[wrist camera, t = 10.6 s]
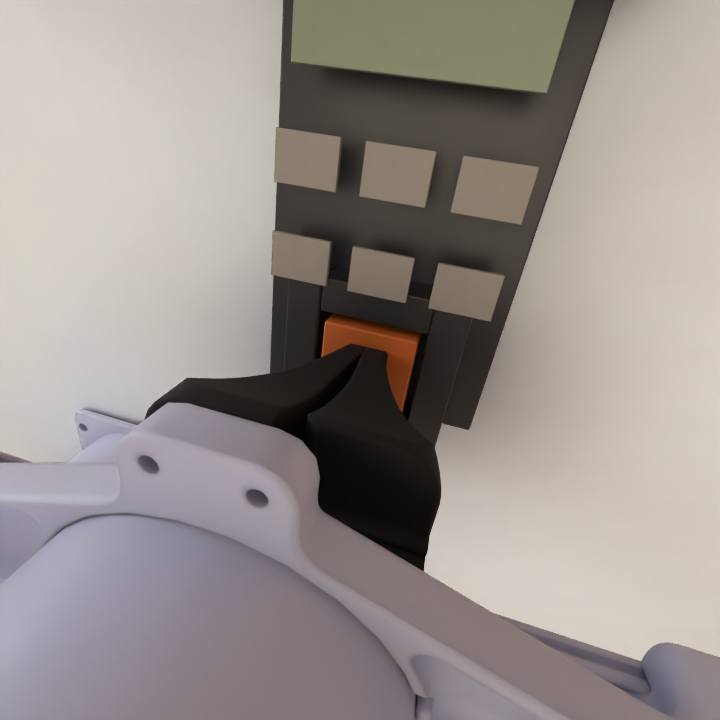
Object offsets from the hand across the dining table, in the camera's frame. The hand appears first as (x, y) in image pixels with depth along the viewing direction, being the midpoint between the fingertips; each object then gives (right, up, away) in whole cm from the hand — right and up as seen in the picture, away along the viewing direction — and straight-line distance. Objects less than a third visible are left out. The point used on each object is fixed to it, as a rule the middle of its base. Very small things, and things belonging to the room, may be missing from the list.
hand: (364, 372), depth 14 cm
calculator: (+1, +6, 0) cm, 6 cm away
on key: (0, +1, +1) cm, 1 cm away
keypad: (+1, +6, -3) cm, 7 cm away
